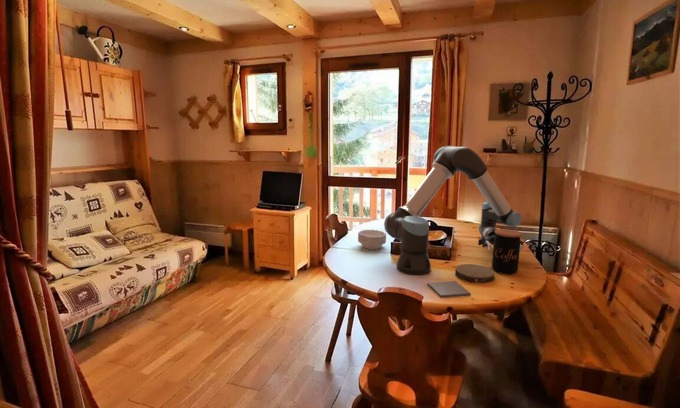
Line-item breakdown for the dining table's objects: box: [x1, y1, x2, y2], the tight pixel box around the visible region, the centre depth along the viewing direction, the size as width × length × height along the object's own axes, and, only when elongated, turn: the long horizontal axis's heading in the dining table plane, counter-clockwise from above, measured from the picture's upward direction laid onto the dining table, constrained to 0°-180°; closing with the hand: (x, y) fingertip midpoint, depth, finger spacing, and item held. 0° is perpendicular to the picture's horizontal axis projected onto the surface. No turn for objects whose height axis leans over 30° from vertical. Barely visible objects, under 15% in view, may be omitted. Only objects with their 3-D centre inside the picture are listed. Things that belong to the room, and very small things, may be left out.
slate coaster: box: [427, 280, 472, 299], centre depth 140 cm, size 12×12×1 cm
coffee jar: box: [491, 228, 522, 275], centre depth 160 cm, size 11×11×18 cm
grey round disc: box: [454, 263, 496, 284], centre depth 155 cm, size 16×16×3 cm
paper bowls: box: [357, 229, 387, 250], centre depth 195 cm, size 15×15×8 cm
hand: (505, 248), depth 162 cm, fingers open, 13 cm apart
